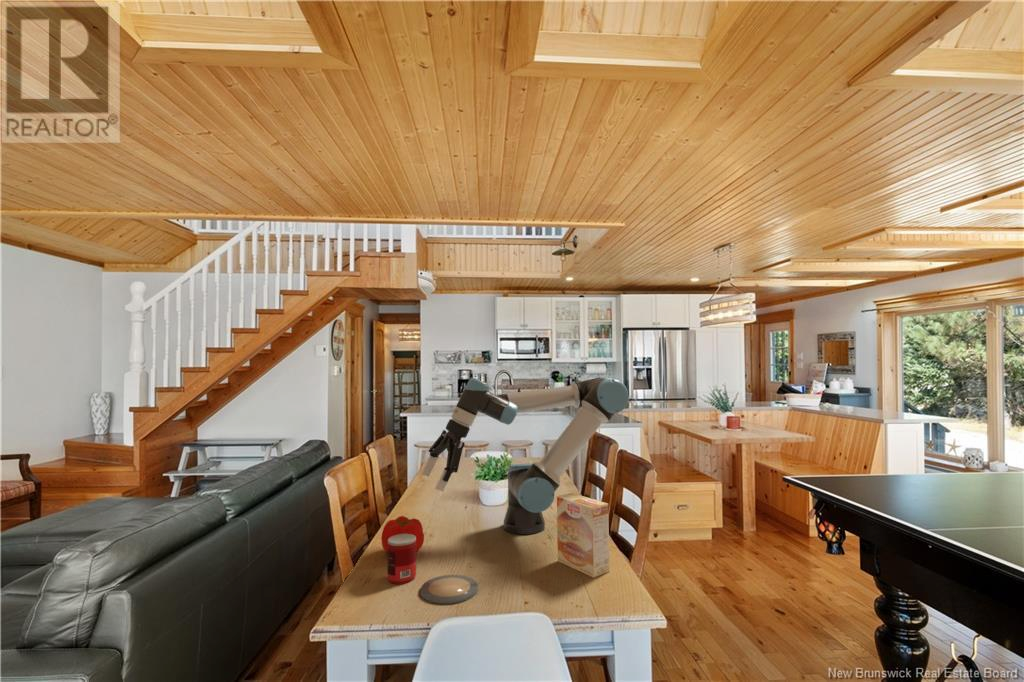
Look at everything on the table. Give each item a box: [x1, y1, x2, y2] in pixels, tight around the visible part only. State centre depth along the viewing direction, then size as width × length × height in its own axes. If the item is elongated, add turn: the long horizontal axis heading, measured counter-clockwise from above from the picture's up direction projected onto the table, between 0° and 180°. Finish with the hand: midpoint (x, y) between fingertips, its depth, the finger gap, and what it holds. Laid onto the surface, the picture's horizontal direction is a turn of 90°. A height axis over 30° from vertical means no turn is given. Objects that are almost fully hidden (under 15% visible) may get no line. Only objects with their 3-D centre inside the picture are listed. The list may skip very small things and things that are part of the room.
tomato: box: [380, 515, 425, 554], centre depth 153 cm, size 14×13×10 cm
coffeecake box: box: [556, 492, 610, 579], centre depth 142 cm, size 15×7×20 cm, turn 37°
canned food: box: [387, 534, 417, 585], centre depth 135 cm, size 8×8×11 cm
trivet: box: [420, 574, 479, 605], centre depth 127 cm, size 15×15×1 cm
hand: (431, 482), depth 157 cm, fingers open, 13 cm apart
